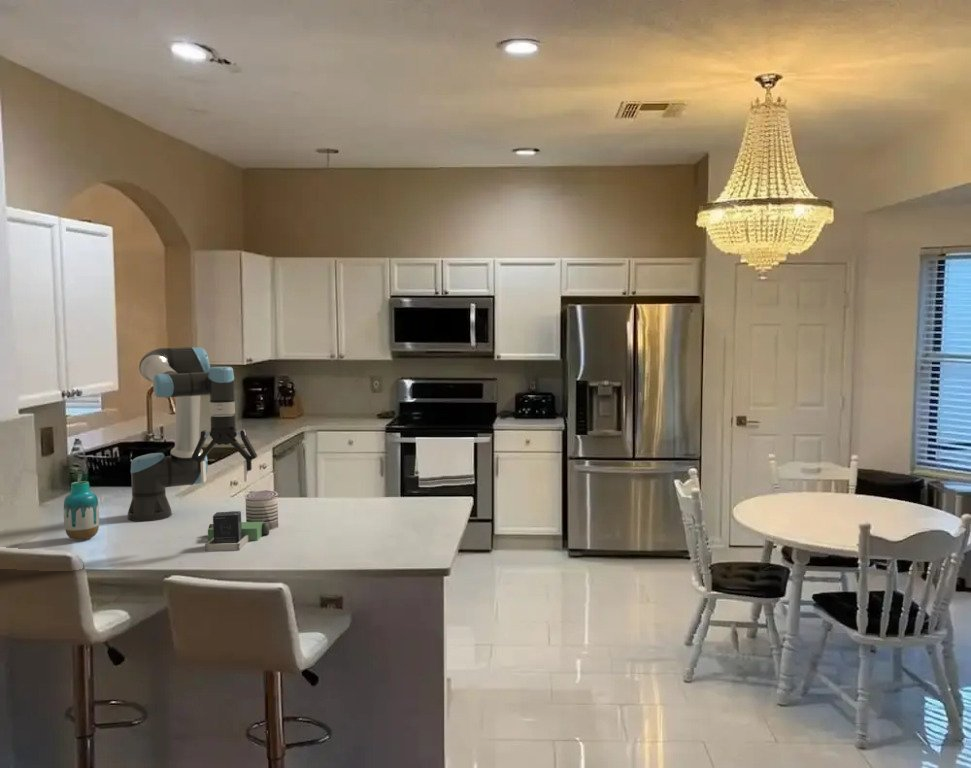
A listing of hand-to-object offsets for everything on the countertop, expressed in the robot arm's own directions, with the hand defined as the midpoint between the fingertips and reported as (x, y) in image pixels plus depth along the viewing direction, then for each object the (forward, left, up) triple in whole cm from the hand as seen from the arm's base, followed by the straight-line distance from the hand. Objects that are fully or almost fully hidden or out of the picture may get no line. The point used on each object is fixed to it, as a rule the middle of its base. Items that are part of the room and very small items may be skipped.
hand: (225, 481), depth 267 cm
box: (0, 0, -21) cm, 21 cm away
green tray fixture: (0, +4, -21) cm, 21 cm away
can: (+5, +24, -21) cm, 32 cm away
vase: (-52, +13, -21) cm, 57 cm away
